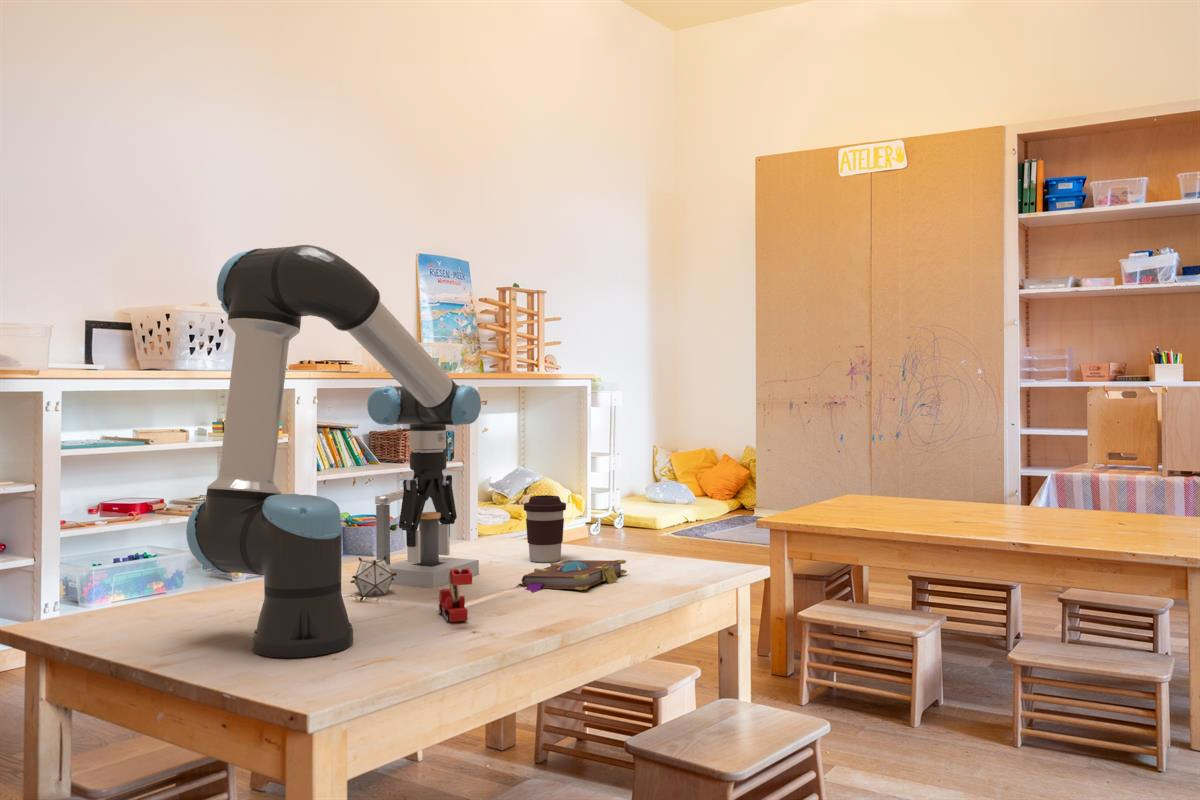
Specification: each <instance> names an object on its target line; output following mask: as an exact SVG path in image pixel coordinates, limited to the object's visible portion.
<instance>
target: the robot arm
mask: <svg viewBox="0 0 1200 800" xmlns="http://www.w3.org/2000/svg"><path fill="white" fill-rule="evenodd" d="M216 295H217V299H218V301H220V303H221V304H220V306H221V308H222V309H223V311H224V312H225V314H227V322H226V323H227V325H228V326H229V327H230V329H231V330H232V331H233V332H234V334H235V338H234V347H233V354H232V355H233V356H232V362H231V363H232V364H231V371H230V380H229V388H228V395H227V396H228V398H227V405H226V412H225V420H224V421H225V422H224V427H223V428H224V429H223V436H222V445H221V456H220V462H219V469H218V477H217V478H216V479H215V480H214V481H213V482H211V483H210V484H209V485H208V486H207V488H206V495H205V500H202V501H201V502H200V503H198V504H197V505H196V506H195V509H194V510H192V511H191V513H190V514H189V517H188V520H187V523H186V528H185V529H186V530H185V531H186V532H185V533H186V534H185V535H186V542H187V545H188V549H189V551H190V552H191V554H192V556H194V558H195V559H196V560H197V562H198V563H200V564H201V565H202V566H203V567H206V568H208V569H210V570H211V569H212V570H215V571H219V572H222V573H227V574H229V573H233V574H234V573H239V574H245V575H248V574H249V575H258V576H263V578H264V579H263V584H264V590H263V591H264V592H263V593H264V595H263V596H264V598H263V603H262V607H261V609H260V614H259V617H258V621H257V626H256V629H255V630H254V632H253V634H252V650H253V653H255V654H257V655H259V656H264V657H269V658H270V657H271V658H282V659H283V658H284V659H285V658H289V659H292V658H306V657H307V658H308V657H315V656H322V655H327V654H332V653H336V652H339V651H342V650H345V649H347V648H349V647H351V646H352V645H353V643H354V628H353V624H352V623H351V622H350V620H349V616H348V612H347V608H346V605H345V602H344V598H343V595H342V551H343V550H342V544H343V543H342V542H343V541H342V537H343V535H342V533H343V525H342V521H341V519H342V518H341V511H340V507H339V506H338V504H337V503H336V502H335V501H334V500H331V499H329V498H326V497H322V496H317V495H312V494H300V493H282V491H281V490H280V489H279V487H278V486H277V485H276V484H275V482H274V480H275V479H274V477H275V469H276V468H275V467H276V460H277V451H278V443H279V436H280V435H279V434H280V425H281V416H282V409H283V400H284V398H283V397H284V389H285V381H286V372H287V364H288V355H289V345H290V341H291V340H292V339H293V338H295V337H296V336H297V335H298V334H300V330H301V325H302V324H301V323H302V317H307V316H311V317H317V318H321V319H324V320H325V321H328V322H329V323H330V324H331V325H332V326H333V327H334V328H335V329H336V330H338V331H342V332H348V333H349V335H351V336H352V337H353V338H354V340H356V341H357V342H358V343H359V344H360V345H361V347H362V348H364V349H365V351H367V352H368V353H369V354H370V355H371V356H372V357H373V358H374V359H375V360H376V361H377V362H378V363H379V364H380V366H381V367H383V368H384V369H385V370H386V372H387V373H389V374H390V375H391V377H393V378H394V379H395V381H397V383H399V384H400V385H401V386H400V385H399V386H397V385H394V386H392V385H386V386H380V387H377V388H375V389H374V390H372V391H371V393H370V394H369V396H368V398H367V413H368V416H369V417H370V418H371V420H372V421H373V422H375V423H376V424H379V425H386V426H393V425H409V447H408V448H409V450H411V452H410V454H409V469H410V470H411V471H413V477H412V479H403V481H402V485H403V487H402V488H403V490H404V493H403V499H401V500H402V502H401V507H400V508H401V509H400V515H399V521H398V528H399V529H401V530H402V531H405V533H406V539H405V540H406V544H405V545H406V547H407V549H406V550H407V552H406V553H407V560H408V562H411V563H421V561H420V531H419V522H420V519H421V515H422V512H424V507H425V505H426V502H427V501H428V500H429V498H430V499H431V501H432V504H433V508H434V510H435V512H440V513H441V518H439V556H445V557H446V556H447V557H448V556H450V552H451V551H450V545H451V544H450V538H451V525H454V524H455V522H456V520H457V518H458V517H457V510H456V504H455V497H454V492H453V491H454V490H453V476H452V475H451V474H444V473H443V471H444V470H446V469H447V453H446V451H444V450H445V449H447V426H448V425H449V426H461V425H462V426H463V425H464V426H465V425H471V424H473V423H475V422H476V421H477V419H478V418H479V415H480V413H481V410H482V400H481V396H480V394H479V393H480V392H479V391H478V390H477V389H476V387H474V386H471V385H465V384H460V385H458V384H457V383H456V382H455V381H454V380H453V379H452V377H450V376H449V375H448V374H447V372H446V371H445V370H444V368H442V367H441V366H440V365H439V363H437V362H436V360H435V359H434V358H433V357H432V356H431V355H430V354H429V353H428V352H427V350H426V349H424V347H423V346H422V345H421V344H420V343H419V342H418V341H417V340H416V338H415V337H414V336H413V335H412V334H411V333H410V332H409V330H407V329H406V327H404V325H403V324H402V323H401V322H400V321H399V319H398V318H396V316H394V315H393V313H391V311H390V310H389V309H388V308H387V307H386V306H385V305H384V303H383V302H381V293H380V291H379V289H378V288H377V287H376V286H375V285H374V284H373V283H372V282H371V281H370V280H369V279H368V278H367V277H366V276H365V274H363V273H362V272H361V271H360V270H359V269H358V268H356V267H355V266H353V265H352V264H351V263H350V262H349V261H346V260H345V259H344V258H343V257H340V256H339V255H337V254H336V253H334V252H332V251H330V250H329V249H325V248H323V247H321V246H316V245H311V244H299V245H297V244H296V245H294V246H281V247H270V248H262V247H261V248H253V249H250V250H247V251H242V252H239V253H236V254H235V255H232V257H230V258H229V259H228V260H226V262H225V263H224V264H223V266H222V267H221V269H220V272H219V273H218V277H217V281H216Z"/></svg>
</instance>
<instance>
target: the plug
mask: <svg viewBox="0 0 1200 800" xmlns="http://www.w3.org/2000/svg"><path fill="white" fill-rule="evenodd" d="M439 518H441V513H440V512H436V511H423V512H422V515H421V519H420V522H419V525H418V531H420V561H421V563H419V566H429V567H433V566H437V565H439V557H440V555H439V524H440V522H439Z"/></svg>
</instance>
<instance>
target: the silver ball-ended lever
mask: <svg viewBox="0 0 1200 800" xmlns="http://www.w3.org/2000/svg"><path fill="white" fill-rule="evenodd" d="M403 493H404V489H401V490H398V491H394V492H390V493H386V494H382V495H375V496H374V504H375V505H380V504H388V505H391V503H392V502H395V501H399V500H403Z"/></svg>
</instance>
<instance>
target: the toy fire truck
mask: <svg viewBox="0 0 1200 800" xmlns="http://www.w3.org/2000/svg"><path fill="white" fill-rule="evenodd" d="M448 579H449V588H442V589H440V590H439V595H438V599H439V602H438V613H439V615H440V616H444V620H445V621H446V622H447V623H453V622H454V623H455V622H465V621H468V609H467V608H466V607H465V605H466V603H465V602H466V600H465V599H466V597H465V595H460V587H459V586H468V585H473V576H472V573H471V571H470V569H469V568H466V569H450V572H449V576H448Z"/></svg>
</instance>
